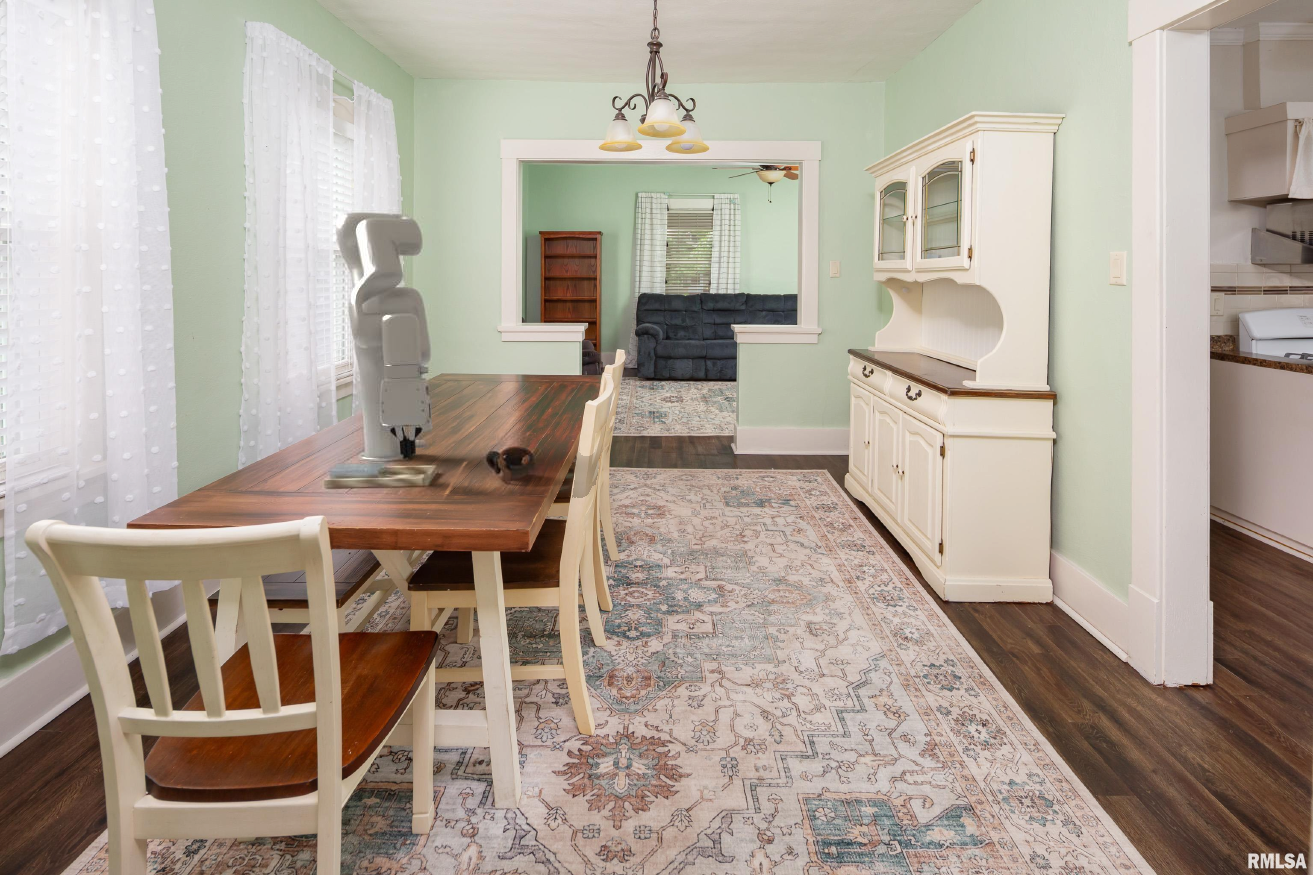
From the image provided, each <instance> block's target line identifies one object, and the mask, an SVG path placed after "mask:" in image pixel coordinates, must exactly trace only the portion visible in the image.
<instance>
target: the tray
mask: <svg viewBox="0 0 1313 875" xmlns="http://www.w3.org/2000/svg"><path fill="white" fill-rule="evenodd" d="M437 466H438V465H396V466H395V465H394V466H393V465H391V466H390V465H389V466H387V465H386V477H385V478H353V479H330V478H324V480H323V484H324V485H323V487H324V489H331V488H332V489H334V488H335V489H336V488H379V487H380V488H381V487H384V488H386V487H389V488H391V487H394V488H395V487H428V486H429V485H430V483H431V481H432V480H433V478H434V477H435V476H436V475H437V472H438V469H437Z"/></svg>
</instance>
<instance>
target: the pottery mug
mask: <svg viewBox="0 0 1313 875" xmlns="http://www.w3.org/2000/svg"><path fill="white" fill-rule="evenodd" d="M527 456H528V457H529V460H528V461H527V463H525V464H524V463H523V460H524V458H526V457H527ZM535 460H536V459H535V458H534V454H533V453H532V451H531V450H529V449H527V448H526V447H524V446H523V447H522V446H509V447H506V448H504V449H503V450H502V451H501V452H499V451H496V450H492V451H488V452H487V454H486V457H485V461H486V463H487V465H488V466H489V467H490V468H491V469H492V470H493V471H494V473H495V475H499V474H501V472H502V477H501V482H503V483H505V484H510V482H511V480H512V481H513V480H517V479H521V478H524V477H527V476H528V475H529V474H531V473H532V472H533V471H534V470H536V469H537V468H538V467H537V465H536V463H535Z"/></svg>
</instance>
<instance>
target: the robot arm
mask: <svg viewBox="0 0 1313 875" xmlns="http://www.w3.org/2000/svg"><path fill="white" fill-rule="evenodd" d="M335 236H336V242H337V245H338V248H339V251H340V254H341V256H342V257H343V259H344V263H345V264H346V266H347V268H348V271H349V273H350V277H351V283H352V284H351V286H352V291H351V293H350V296H349V299H348V317H349V324H350V329H351V333H352V334H351V335H352V337H353V338H352V339H353V341H354V352H355V357H356V358H355V359H356V361H357V367H358V371H359V377H360V378H359V379H360V390H361V404H362V408H361V409H362V418H363V419H362V420H363V421H362V423H363V437H364V450H365V451H363V452H361V453H359V454H358V459H359V461H362V462H363V461H365V462H376V463H379V462H393V461H406V460H411V459H413V458H414V455H416V453H417V449H422V448H423V449H425V448H426V440H425V439H420V440H418V439H416V438H417V437H419V435H420V434H421V433H424V432H427V431H428V432H429V431H431V430H432V429H433V423H432V414H433V413H432V404H431V396H430V391H429V390H430V389H429V385H428V381H427V378H426V377H423V375H425V374H429V372H430V371H429V367H428V366H426V365H428V364H429V362H430V360H431V355H432V348H431V340H430V335H429V334H430V332H429V327H428V322H427V315H426V308H425V302H424V300H423V297H422V295H421V293H420V292H419V291H418V290H417V289H415V288H413V287H410V286H409V287H408V286H407V287H406V286H405V287H404V286H402V287H401V286H400V284H401V282H402V281H403V278H404V273H403V269H402V263H401V258H400V256H404V257H405V256H407V257H408V256H409V257H411V256H414V257H415V256H417V255H419V254H420V253H421V251H422V249H423V234H422V231H421V228H420V226H419V224H418V223H417V221H416V220H415V219H414V218H412V217H411V216H409V215H406V214H401V213H384V212H381V213H379V212H363V211H362V212H358V211H357V212H350V213H344V214H342V215H340V216H339V217H338V218H337V220H336V224H335ZM406 427H409V431H408V437H407V435H406V430H405V428H406Z"/></svg>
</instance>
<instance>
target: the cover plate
mask: <svg viewBox="0 0 1313 875" xmlns="http://www.w3.org/2000/svg"><path fill="white" fill-rule="evenodd" d="M386 466H387V463H386V462H356V463H355V462H353V463H352V462H351V463H347V462H345V463H338V464H336V465H335V466H334V467H332V468H331V469H330V470H329V479H353V478H385V477H386Z"/></svg>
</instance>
